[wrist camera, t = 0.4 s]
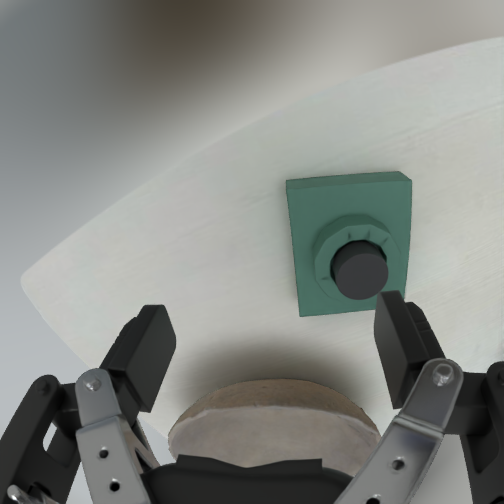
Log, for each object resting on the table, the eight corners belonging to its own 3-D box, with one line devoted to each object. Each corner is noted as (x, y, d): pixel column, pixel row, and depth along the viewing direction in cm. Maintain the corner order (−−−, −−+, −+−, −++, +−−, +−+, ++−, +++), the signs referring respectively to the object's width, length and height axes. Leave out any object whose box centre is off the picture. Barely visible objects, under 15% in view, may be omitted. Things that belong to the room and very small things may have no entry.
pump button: (331, 243, 23) (335, 256, 21) (382, 238, 22) (390, 250, 20) (333, 288, 25) (336, 303, 23) (380, 282, 24) (386, 297, 22)
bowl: (348, 307, 31) (365, 382, 22) (382, 424, 41) (391, 477, 32) (147, 360, 38) (120, 419, 29) (236, 451, 48) (228, 498, 39)
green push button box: (285, 180, 26) (286, 197, 21) (399, 171, 24) (422, 187, 20) (298, 298, 31) (300, 331, 26) (394, 288, 29) (409, 319, 25)
